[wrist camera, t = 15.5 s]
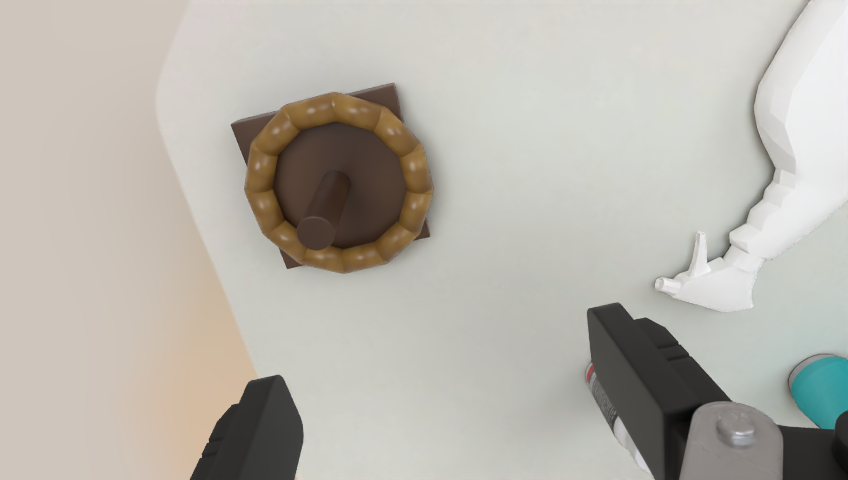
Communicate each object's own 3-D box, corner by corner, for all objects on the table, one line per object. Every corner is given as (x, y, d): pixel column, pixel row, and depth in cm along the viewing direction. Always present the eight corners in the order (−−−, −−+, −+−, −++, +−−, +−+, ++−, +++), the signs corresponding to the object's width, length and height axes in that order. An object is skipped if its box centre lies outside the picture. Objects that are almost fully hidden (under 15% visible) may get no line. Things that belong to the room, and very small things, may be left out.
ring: (288, 280, 32) (283, 292, 31) (221, 120, 28) (211, 125, 26) (447, 242, 32) (449, 252, 30) (404, 72, 27) (404, 74, 26)
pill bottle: (605, 402, 40) (654, 489, 32) (572, 371, 39) (615, 455, 31) (652, 369, 39) (713, 452, 31) (619, 337, 37) (676, 415, 30)
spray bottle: (992, -17, 28) (747, 312, 37) (850, -93, 26) (629, 275, 35) (1055, -22, 25) (774, 335, 35) (901, -106, 23) (647, 296, 33)
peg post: (291, 259, 33) (253, 340, 25) (237, 120, 29) (169, 157, 21) (429, 228, 33) (439, 299, 24) (393, 82, 29) (391, 104, 20)
